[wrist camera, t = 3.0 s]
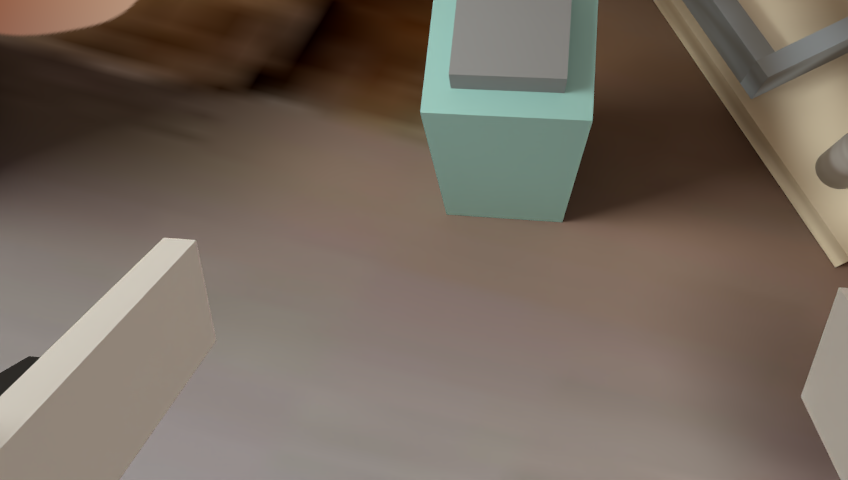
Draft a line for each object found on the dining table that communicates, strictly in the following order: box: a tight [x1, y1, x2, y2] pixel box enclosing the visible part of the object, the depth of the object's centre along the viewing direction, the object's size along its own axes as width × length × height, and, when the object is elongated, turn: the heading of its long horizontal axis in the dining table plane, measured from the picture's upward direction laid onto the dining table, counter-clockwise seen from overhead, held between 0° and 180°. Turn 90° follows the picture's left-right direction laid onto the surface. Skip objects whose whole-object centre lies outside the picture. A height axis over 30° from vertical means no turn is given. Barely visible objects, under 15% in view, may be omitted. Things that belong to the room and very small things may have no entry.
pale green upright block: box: [420, 0, 598, 222], centre depth 29 cm, size 6×6×13 cm
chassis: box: [653, 0, 848, 267], centre depth 33 cm, size 13×22×4 cm, turn 25°
